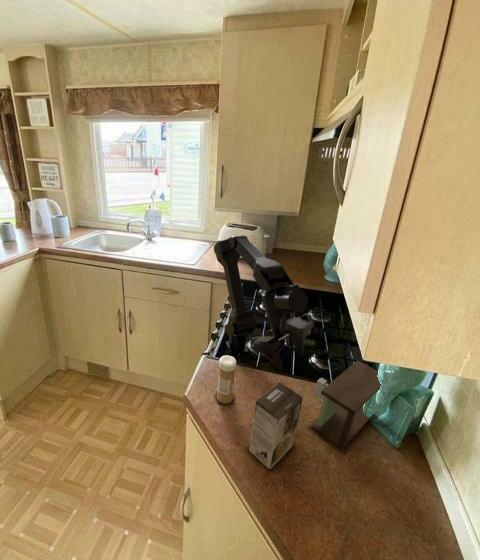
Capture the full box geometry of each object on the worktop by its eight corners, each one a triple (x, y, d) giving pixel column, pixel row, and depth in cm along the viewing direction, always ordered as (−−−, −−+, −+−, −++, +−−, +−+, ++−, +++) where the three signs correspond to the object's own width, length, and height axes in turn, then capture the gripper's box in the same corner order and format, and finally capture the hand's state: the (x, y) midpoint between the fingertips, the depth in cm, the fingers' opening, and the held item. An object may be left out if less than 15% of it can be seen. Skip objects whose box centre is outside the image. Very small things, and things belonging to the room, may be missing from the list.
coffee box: (270, 429, 80) (279, 380, 73) (292, 447, 75) (304, 396, 68) (247, 450, 74) (254, 399, 67) (269, 470, 70) (280, 418, 63)
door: (303, 414, 82) (310, 385, 78) (320, 400, 87) (327, 372, 82) (320, 427, 79) (328, 397, 75) (336, 411, 83) (345, 382, 79)
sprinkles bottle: (235, 398, 89) (240, 360, 83) (225, 406, 86) (229, 368, 80) (223, 389, 92) (226, 352, 86) (213, 397, 89) (215, 359, 83)
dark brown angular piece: (311, 428, 80) (321, 390, 75) (346, 396, 90) (357, 360, 85) (341, 451, 75) (354, 411, 69) (374, 413, 85) (388, 376, 79)
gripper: (277, 322, 74) (294, 384, 75) (321, 298, 84) (336, 352, 85) (245, 321, 83) (260, 376, 84) (288, 300, 93) (302, 349, 94)
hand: (291, 363), depth 86 cm, fingers open, 9 cm apart
